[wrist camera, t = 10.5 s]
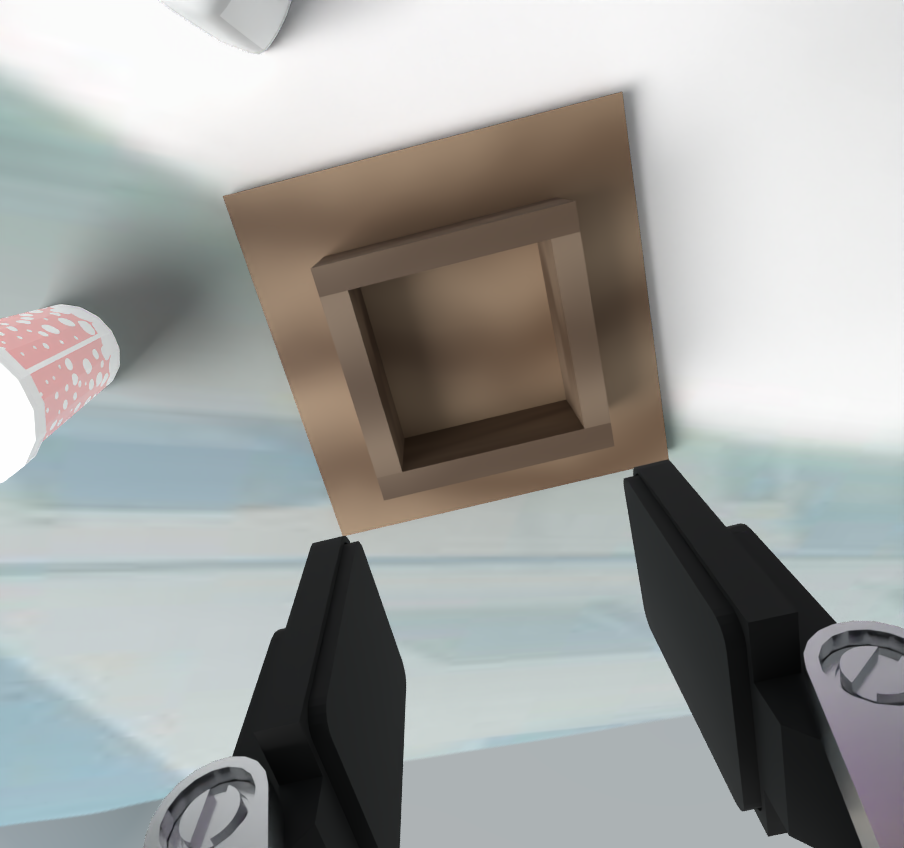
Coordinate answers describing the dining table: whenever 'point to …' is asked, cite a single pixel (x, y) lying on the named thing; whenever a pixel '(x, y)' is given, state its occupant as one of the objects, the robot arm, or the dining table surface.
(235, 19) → the eye dropper bottle
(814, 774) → the robot arm
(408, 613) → the dining table surface
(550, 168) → the walnut stand
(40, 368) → the beverage cup
